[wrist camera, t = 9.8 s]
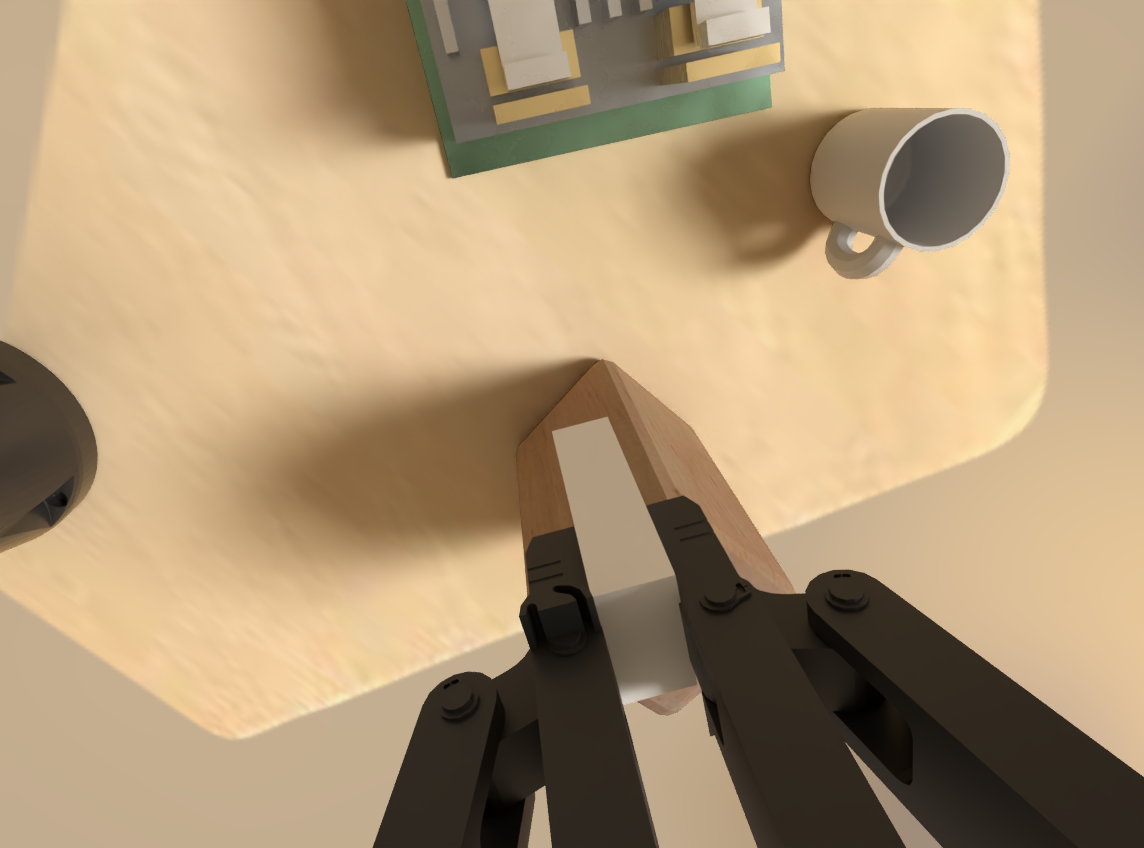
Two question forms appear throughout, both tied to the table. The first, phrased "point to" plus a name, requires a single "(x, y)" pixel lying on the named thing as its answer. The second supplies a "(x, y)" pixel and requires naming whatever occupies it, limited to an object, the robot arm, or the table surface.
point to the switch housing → (585, 78)
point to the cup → (906, 182)
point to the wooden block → (641, 480)
